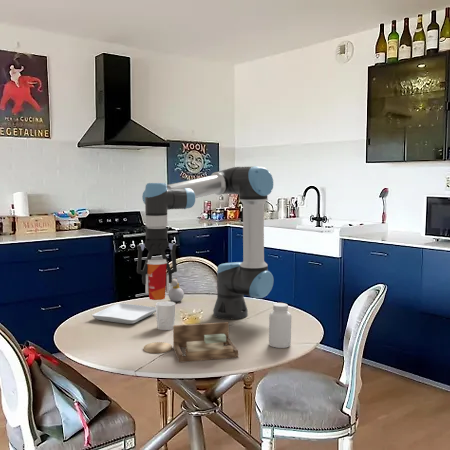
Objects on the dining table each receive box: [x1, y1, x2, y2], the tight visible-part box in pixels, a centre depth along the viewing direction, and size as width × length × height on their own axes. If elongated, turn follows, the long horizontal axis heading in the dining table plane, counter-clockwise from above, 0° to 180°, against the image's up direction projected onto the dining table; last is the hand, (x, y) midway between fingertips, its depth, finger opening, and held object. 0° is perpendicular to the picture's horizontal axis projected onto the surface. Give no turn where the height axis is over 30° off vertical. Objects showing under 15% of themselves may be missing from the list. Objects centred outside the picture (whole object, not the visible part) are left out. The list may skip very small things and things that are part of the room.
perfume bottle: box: [167, 277, 185, 303], centre depth 249 cm, size 8×10×12 cm
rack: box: [172, 321, 239, 363], centre depth 179 cm, size 20×15×8 cm
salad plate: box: [91, 302, 156, 325], centre depth 222 cm, size 21×21×3 cm
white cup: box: [155, 300, 176, 331], centre depth 207 cm, size 8×8×10 cm
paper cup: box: [146, 256, 168, 301], centre depth 180 cm, size 8×8×14 cm
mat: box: [143, 341, 173, 354], centre depth 183 cm, size 10×10×1 cm
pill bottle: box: [268, 302, 292, 349], centre depth 186 cm, size 8×8×15 cm
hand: (157, 292), depth 181 cm, fingers closed on paper cup, 6 cm apart
